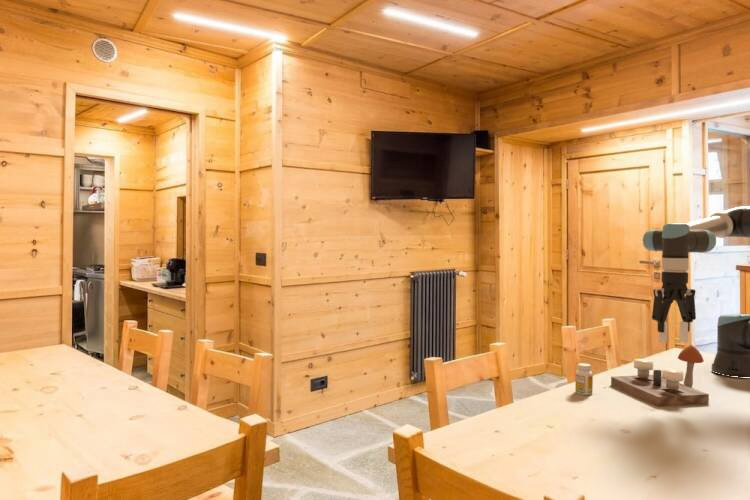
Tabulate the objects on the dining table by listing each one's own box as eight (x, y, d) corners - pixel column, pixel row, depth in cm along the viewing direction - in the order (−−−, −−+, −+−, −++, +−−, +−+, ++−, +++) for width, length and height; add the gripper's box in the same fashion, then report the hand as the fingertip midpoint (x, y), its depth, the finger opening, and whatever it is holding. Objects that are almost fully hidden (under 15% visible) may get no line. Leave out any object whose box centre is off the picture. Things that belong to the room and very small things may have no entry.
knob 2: (673, 384, 176) (674, 368, 176) (687, 390, 170) (687, 373, 170) (657, 385, 175) (658, 369, 174) (671, 391, 169) (671, 373, 169)
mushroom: (708, 390, 183) (709, 347, 183) (684, 390, 183) (685, 347, 183) (694, 384, 191) (695, 342, 191) (672, 383, 191) (673, 342, 191)
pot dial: (657, 383, 181) (658, 368, 180) (662, 385, 178) (663, 370, 178) (651, 384, 180) (651, 368, 180) (656, 386, 178) (656, 370, 178)
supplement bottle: (589, 390, 182) (590, 362, 182) (594, 395, 177) (595, 366, 177) (573, 390, 183) (573, 362, 182) (577, 395, 177) (578, 366, 177)
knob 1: (645, 373, 189) (645, 358, 189) (656, 378, 184) (657, 362, 183) (630, 374, 188) (630, 359, 188) (641, 379, 182) (641, 363, 182)
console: (655, 382, 193) (656, 374, 193) (708, 403, 169) (708, 394, 169) (611, 385, 189) (611, 376, 189) (658, 406, 166) (658, 397, 166)
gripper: (692, 270, 177) (691, 338, 177) (639, 270, 173) (638, 340, 174) (710, 271, 169) (709, 343, 170) (655, 272, 166) (654, 345, 166)
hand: (673, 341), depth 172 cm, fingers open, 7 cm apart
